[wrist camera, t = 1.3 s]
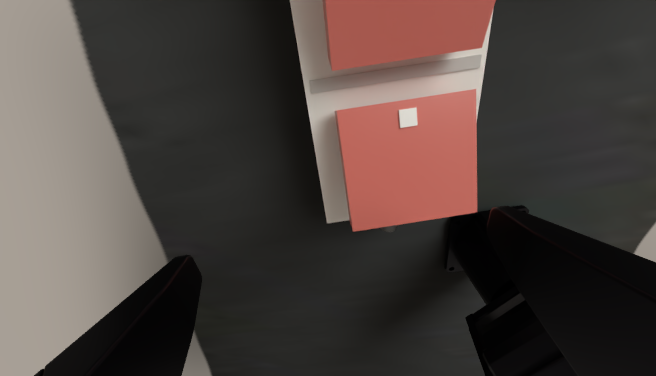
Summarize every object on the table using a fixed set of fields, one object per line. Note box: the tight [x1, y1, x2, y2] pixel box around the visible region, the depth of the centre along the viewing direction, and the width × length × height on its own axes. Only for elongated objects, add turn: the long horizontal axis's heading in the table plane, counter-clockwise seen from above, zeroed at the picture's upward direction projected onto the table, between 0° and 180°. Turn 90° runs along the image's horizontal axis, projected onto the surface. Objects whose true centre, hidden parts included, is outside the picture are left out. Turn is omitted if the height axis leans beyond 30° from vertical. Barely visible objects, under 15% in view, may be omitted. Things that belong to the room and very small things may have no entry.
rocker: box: [335, 89, 477, 232], centre depth 14 cm, size 6×6×2 cm
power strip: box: [290, 0, 493, 232], centre depth 14 cm, size 28×9×4 cm, turn 7°
